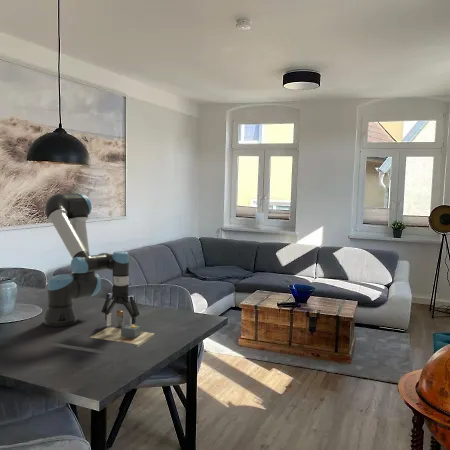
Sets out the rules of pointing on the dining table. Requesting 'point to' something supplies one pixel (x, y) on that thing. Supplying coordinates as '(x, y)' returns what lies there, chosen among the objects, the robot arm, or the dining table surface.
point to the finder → (130, 331)
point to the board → (115, 335)
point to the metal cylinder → (120, 318)
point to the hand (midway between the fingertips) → (120, 328)
